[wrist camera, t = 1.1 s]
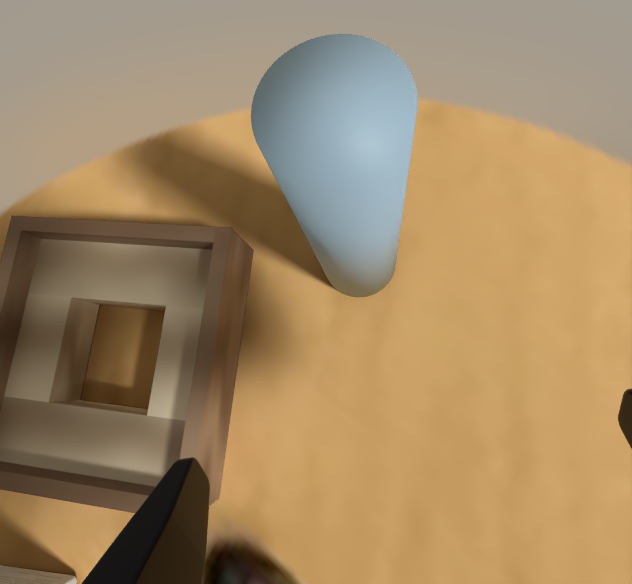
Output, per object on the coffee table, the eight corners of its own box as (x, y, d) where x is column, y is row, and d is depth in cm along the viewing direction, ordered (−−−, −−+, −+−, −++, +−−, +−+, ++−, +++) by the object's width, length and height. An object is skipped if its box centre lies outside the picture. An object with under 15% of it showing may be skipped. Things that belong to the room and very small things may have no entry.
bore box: (218, 498, 22) (186, 522, 19) (11, 464, 24) (-55, 479, 21) (253, 250, 25) (231, 227, 21) (62, 238, 27) (11, 215, 23)
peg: (392, 299, 23) (411, 187, 9) (320, 294, 24) (240, 181, 10) (397, 230, 24) (422, 31, 10) (327, 226, 24) (262, 35, 11)
